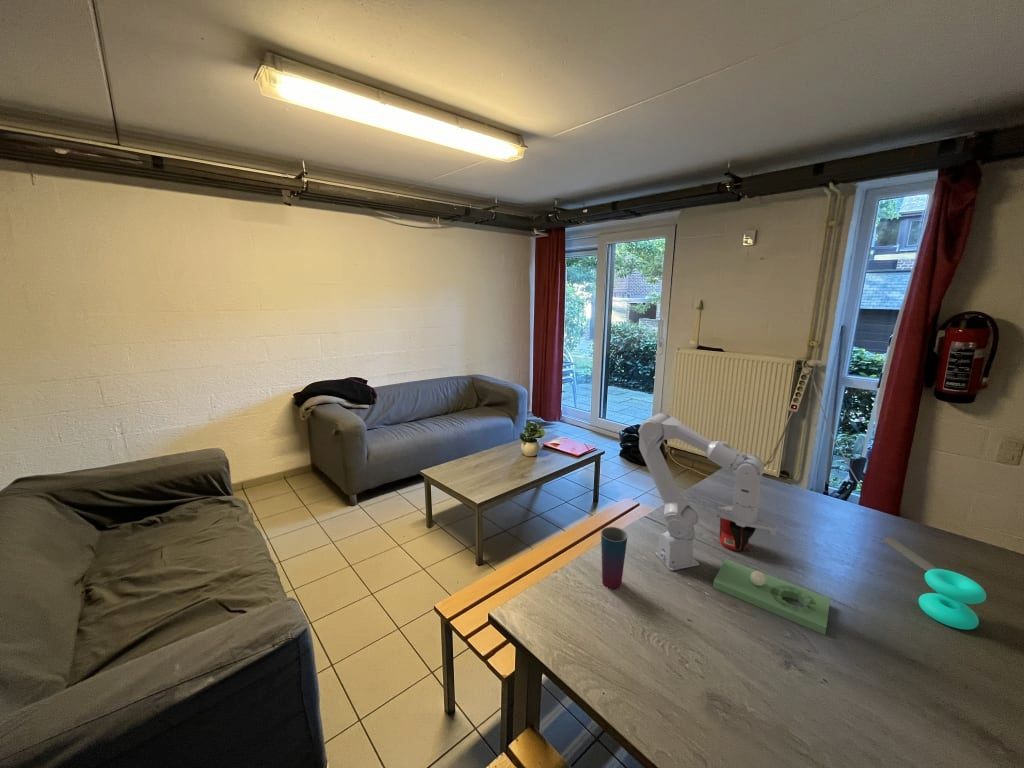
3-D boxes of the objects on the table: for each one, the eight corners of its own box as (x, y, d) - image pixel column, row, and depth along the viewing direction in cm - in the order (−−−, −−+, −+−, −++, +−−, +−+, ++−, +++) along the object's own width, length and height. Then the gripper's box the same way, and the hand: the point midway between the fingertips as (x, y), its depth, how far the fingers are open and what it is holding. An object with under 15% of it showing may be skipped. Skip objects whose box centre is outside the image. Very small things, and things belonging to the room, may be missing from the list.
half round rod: (895, 542, 128) (896, 537, 128) (958, 585, 109) (959, 579, 108) (881, 541, 128) (882, 536, 128) (941, 585, 109) (943, 579, 109)
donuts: (943, 563, 102) (998, 590, 92) (934, 597, 104) (988, 627, 95) (915, 570, 99) (969, 599, 90) (907, 605, 101) (959, 636, 92)
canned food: (752, 551, 122) (755, 518, 120) (725, 551, 123) (726, 518, 121) (741, 536, 130) (743, 505, 127) (715, 536, 131) (716, 505, 128)
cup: (595, 586, 109) (597, 537, 106) (602, 571, 115) (604, 524, 111) (621, 595, 106) (624, 544, 102) (627, 579, 112) (630, 530, 108)
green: (712, 587, 108) (713, 580, 108) (724, 564, 117) (725, 558, 117) (825, 635, 93) (826, 627, 92) (828, 605, 102) (830, 598, 101)
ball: (757, 590, 104) (758, 578, 104) (746, 580, 108) (747, 569, 107) (768, 587, 105) (769, 575, 104) (757, 578, 108) (758, 567, 108)
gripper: (711, 499, 106) (706, 545, 109) (775, 518, 97) (769, 567, 100) (718, 489, 112) (714, 533, 115) (780, 506, 102) (774, 554, 105)
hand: (740, 548), depth 108 cm, fingers closed
